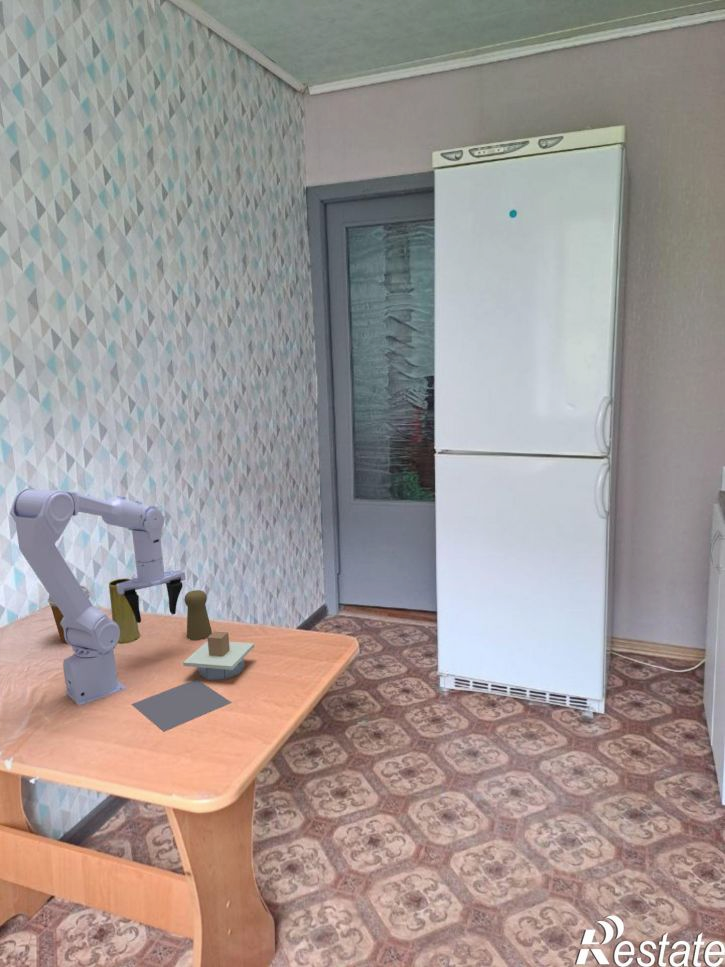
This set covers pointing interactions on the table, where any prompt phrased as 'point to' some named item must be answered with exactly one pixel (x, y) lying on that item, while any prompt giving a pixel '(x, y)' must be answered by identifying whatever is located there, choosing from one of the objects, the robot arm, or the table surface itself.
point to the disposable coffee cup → (59, 616)
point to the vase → (123, 614)
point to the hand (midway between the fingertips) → (155, 617)
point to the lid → (219, 653)
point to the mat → (180, 704)
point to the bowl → (221, 672)
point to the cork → (197, 615)
